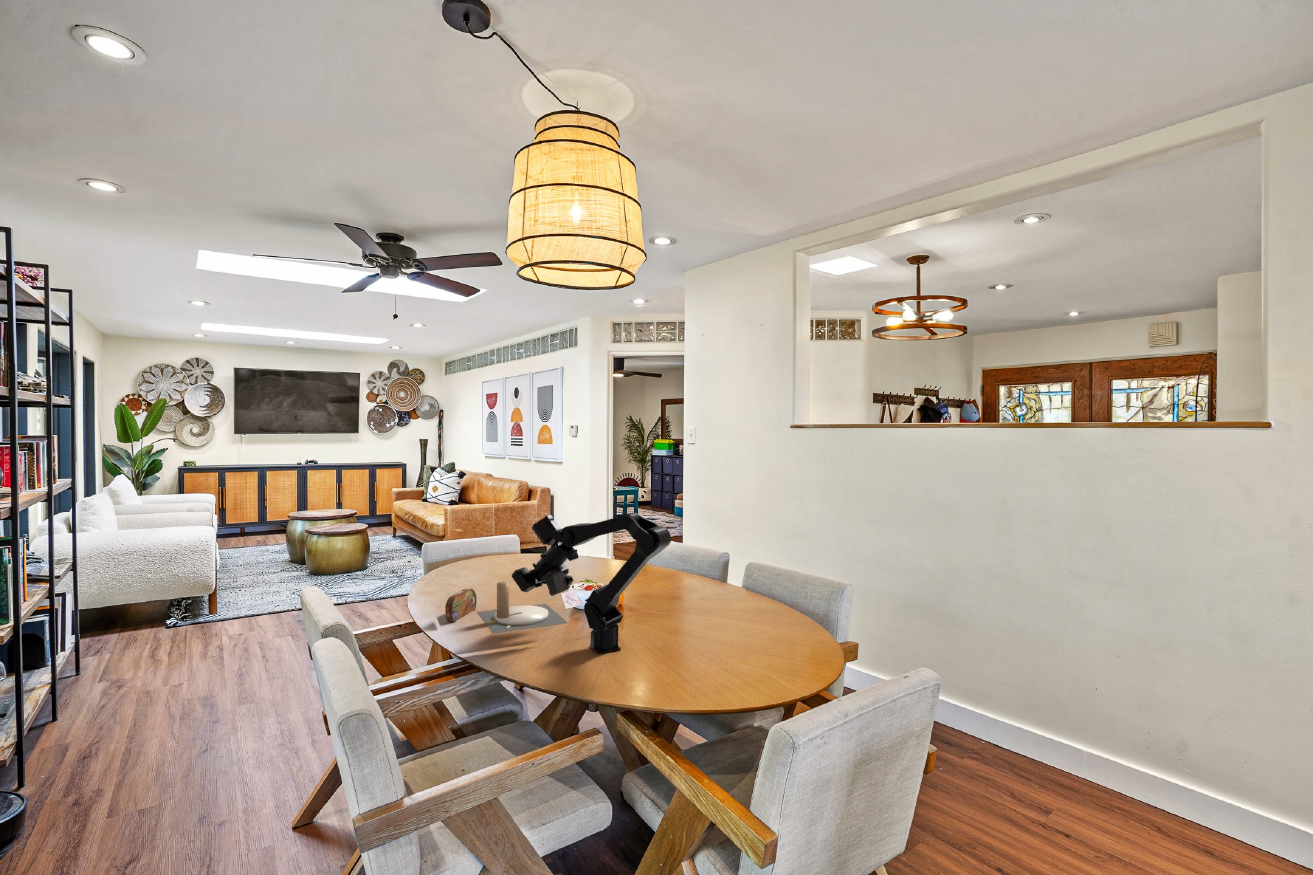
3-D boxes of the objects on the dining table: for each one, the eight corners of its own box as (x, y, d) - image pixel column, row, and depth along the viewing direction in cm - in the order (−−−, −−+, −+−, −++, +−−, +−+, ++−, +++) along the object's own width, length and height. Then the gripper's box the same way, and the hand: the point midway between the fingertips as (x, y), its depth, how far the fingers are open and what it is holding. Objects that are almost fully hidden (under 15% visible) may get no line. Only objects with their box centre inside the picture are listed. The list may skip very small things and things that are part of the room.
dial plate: (545, 606, 207) (545, 602, 206) (568, 626, 187) (568, 622, 187) (477, 615, 197) (477, 611, 196) (492, 636, 177) (492, 632, 177)
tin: (452, 627, 185) (453, 598, 185) (443, 626, 186) (443, 597, 185) (477, 612, 200) (477, 585, 200) (468, 611, 200) (468, 585, 200)
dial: (556, 611, 198) (556, 575, 197) (534, 627, 182) (534, 588, 182) (509, 607, 201) (509, 572, 201) (484, 622, 186) (484, 584, 186)
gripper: (549, 588, 166) (518, 623, 172) (591, 572, 182) (562, 604, 188) (525, 555, 170) (496, 590, 176) (569, 542, 186) (541, 574, 192)
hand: (526, 590), depth 183 cm, fingers closed
